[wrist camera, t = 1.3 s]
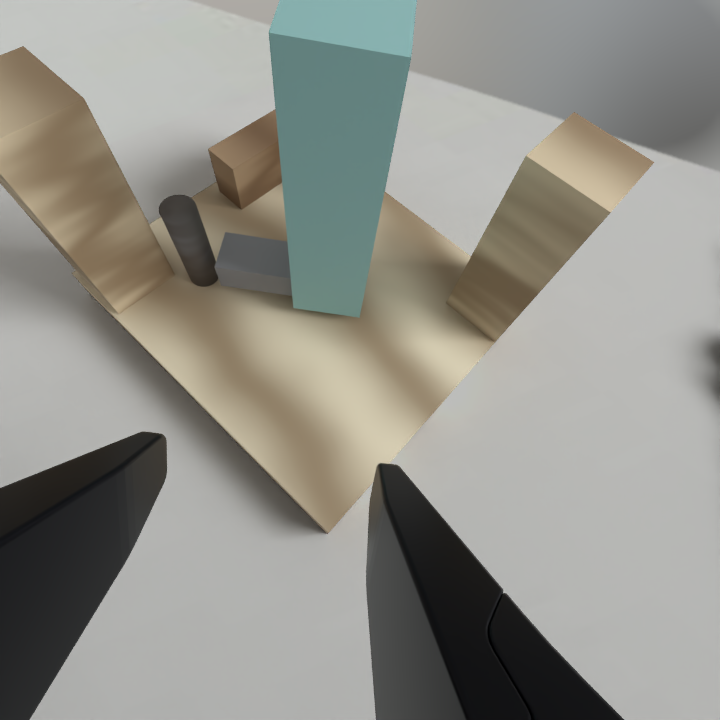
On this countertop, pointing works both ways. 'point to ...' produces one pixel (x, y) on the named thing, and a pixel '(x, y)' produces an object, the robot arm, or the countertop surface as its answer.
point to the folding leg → (328, 149)
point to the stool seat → (275, 311)
